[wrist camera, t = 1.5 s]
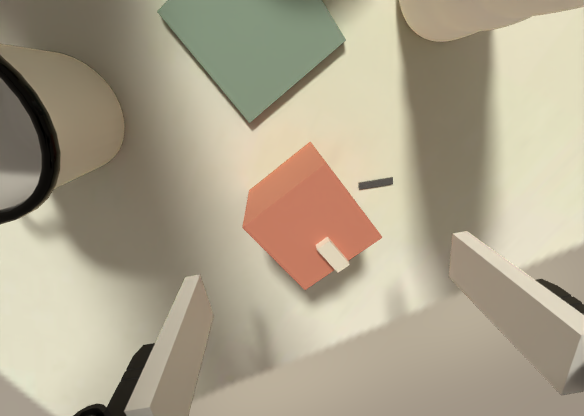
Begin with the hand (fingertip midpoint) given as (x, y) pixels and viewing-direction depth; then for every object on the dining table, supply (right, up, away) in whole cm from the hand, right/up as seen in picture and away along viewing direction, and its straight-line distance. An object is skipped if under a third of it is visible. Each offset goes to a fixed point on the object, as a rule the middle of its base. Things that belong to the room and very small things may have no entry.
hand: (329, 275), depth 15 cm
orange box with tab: (-1, +5, +10) cm, 11 cm away
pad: (-4, +16, +5) cm, 17 cm away
